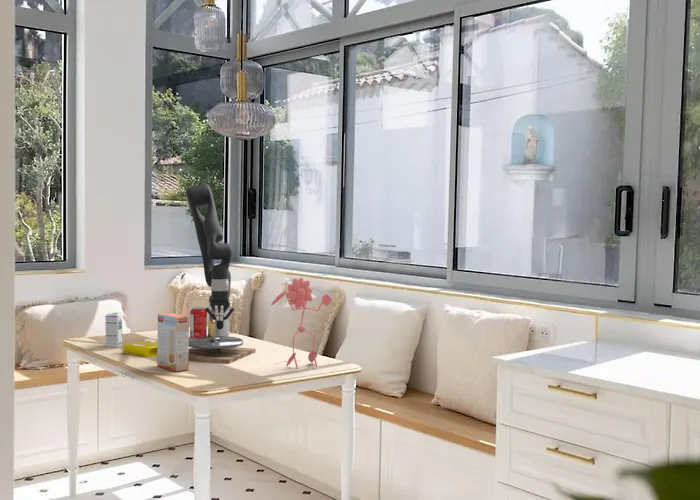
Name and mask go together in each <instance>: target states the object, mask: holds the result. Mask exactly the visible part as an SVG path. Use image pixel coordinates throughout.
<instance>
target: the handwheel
mask: <svg viewBox="0 0 700 500" xmlns="http://www.w3.org/2000/svg"><path fill="white" fill-rule="evenodd" d="M242 345H244V340H243V338H240V337H236V336H230V335H229V336H215V320H209V319H207V336H202V337H194V338H190V337H189V347H190V348H192V347H193V348H202V349H224V348H233V347H241V346H242Z"/></svg>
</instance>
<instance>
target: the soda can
mask: <svg viewBox="0 0 700 500" xmlns="http://www.w3.org/2000/svg"><path fill="white" fill-rule="evenodd" d="M205 309H206V307H203V306H195V307H194V306H192V307H191V309H190V311H189V339H190V338H194V337H202V336H208V312H207V311H206V310H205Z"/></svg>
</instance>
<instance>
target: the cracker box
mask: <svg viewBox="0 0 700 500" xmlns="http://www.w3.org/2000/svg"><path fill="white" fill-rule="evenodd" d="M189 339H190V315H189V316H187V315H184V314H178V313H173V312H161V313H157V341H158V349H157V356H156V359H157V364H156V365H157V367H159V368H163V369H167V370H170V371H172V372H176V373H177V372H184V371H188V370H189V360H188V351H189V349H190V348H189Z"/></svg>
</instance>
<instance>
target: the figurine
mask: <svg viewBox="0 0 700 500" xmlns="http://www.w3.org/2000/svg"><path fill="white" fill-rule="evenodd" d="M310 284H311V281H310V280H304V278H303V277H300V278H299V279H297V277H295V278H294V279H292V284H287V290H288V292H287V291H283V292H281V293H280V294H278V296H276V297H275V298H274V300H273V301H272V302H271V305H270V306H273V305H275V304H276V303H278V302H279V301H280V300H281V299H282V298H283V297H284V296H285V298H286V299H287V301H288V305H289V306H290V308H291V311H293V312H295V311H298V310H302V313H301V319H300V325H299V326H298V328H297V331H296V333H295V334H294V335H293V337H292V355H291V356H290V357H289V359H288V360H287V361H285V360H284V361H281V362H276V363H275V364H274V365H278V364H281V363H285V362H286V367H288V366H290V364H291V363H292V362H293V361H294V364H295V368H296V370H297V369H299V367H298V364H297V361H298V362H300V360H299V359H298V360H297V359H296V355H297V352H295V347H294V346H295V337H296V336H297V334H299V333H300V334H301V333H304V332H306V333H309V334H311V335H313V339H312V340H313V341H312V342H313V343H312V350H311V351H309V353H308V357H307V359H308V361H309V362H310V363H314V365H315V367H317V366H318V364H317V360H316V359H317V357H318V352H317V350H314V349H315V337H316V335H315V334H314V333H313V332H310V331H308V330H306V329H305V326H303V318H304V314H305V310H306V309H307V310H309V311H310V310H311V311H314V312H318V311H319V310H320V308H321V307H322V305H324V306H325V307H328V306H330V304H331V302H332V296H331V295H329V294H328V293H326V294H325V295H324V294H323V296H322V297H321V303H320V304H319V306H318V308H317V309H314V308H311V307H307V302H312V301H313V296H312V292H313V291H312V288H310ZM293 306H294V307H293ZM328 365H330V363H329V362H328Z"/></svg>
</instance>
